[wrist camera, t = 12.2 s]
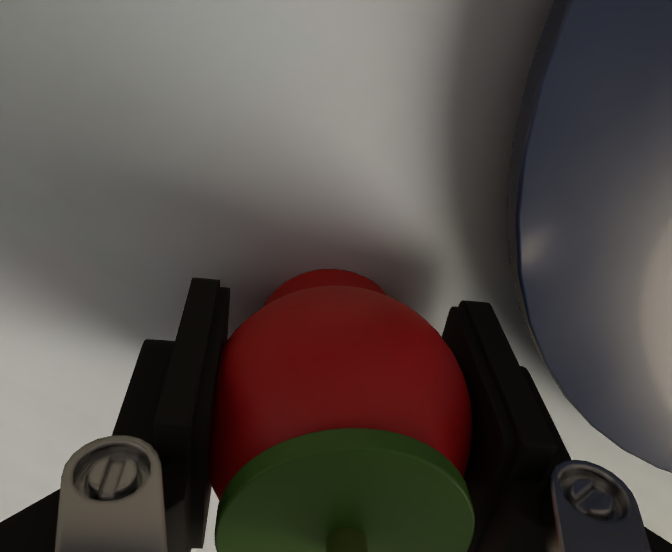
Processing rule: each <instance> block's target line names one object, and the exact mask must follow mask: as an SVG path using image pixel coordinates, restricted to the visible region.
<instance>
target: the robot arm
mask: <svg viewBox="0 0 672 552" xmlns="http://www.w3.org/2000/svg"><path fill="white" fill-rule="evenodd" d="M229 302H230V288H226V287H220V280H216V279H204V278H192V280H191V284H190V287H189V291H188V295H187V299H186V302H185V306H184V310H183V314H182V318H181V321H180V325H179V329H178V333H177V336H176V340H175V341H166V340H153V339H146V340H145V341H144V343H143V345H142V348H141V350H140V353H139V356H138V359H137V362H136V365H135V368H134V371H133V374H132V377H131V380H130V383H129V386H128V389H127V392H126V395H125V398H124V401H123V404H122V407H121V410H120V413H119V416H118V419H117V422H116V425H115V428H114V431H113V434H112V436H109V437H104V438H100V439H97V440H94V441H92V442H90V443H88V444H86V445H84V446H83V447H81V448H80V449H79V450H77V451H76V452H75V453H74V454H73V455H72V456H71V457H70V459H69V460H68V461H67V463H66V464H65V466H64V470H63V473H62V476H61V487H60V489H59V490H57V491H55V492H53V493H52V494H50V495H48V496H46V497H45V498H43V499H41V500H39V501H38V502H36V503H34V504H32V505H30V506H29V507H27V508H25V509H23V510H22V511H20V512H18V513H16V514H15V515H13V516H11V517H9V518H8V519H6V520H4V521H2V522H0V552H191V548H201V549H202V548H203V544H204V537H205V530H206V523H207V516H208V508H209V501H210V494H211V487H212V485H211V483H210V481H209V456H210V441H211V428H212V418H213V408H214V398H215V390H216V381H217V374H218V367H219V360H220V355H221V351H222V347H223V346H224V345H225V343H226V342H227V337H228V320H229ZM442 338H443V340H444V341H445V343H446V344H447V345H448V347H449V348H450V349H451V351H452V352H453V354H454V356H455V358H456V360H457V362H458V364H459V366H460V368H461V371H462V373H463V375H464V378H465V381H466V385H467V388H468V392H469V396H470V400H471V408H472V421H473V433H472V444H471V453H470V457H469V461H468V465H467V468H466V471H465V475H464V478H463V479H464V481H465V483H466V486H467V489H468V492H469V495H470V498H471V502H472V505H473V508H474V515H475V527H474V534H473V537H472V541H471V544H470V546H469V548H468V550H467V552H672V544H671V543H669V542H667V541H666V540H664V539H663V538H661V537H660V536H658V535H657V534H655V533H654V532H652V531H650V530H649V529H647V528H646V527H644V525H643V522H642V518H641V515H640V511H639V508H638V505H637V502H636V500H635V498H634V496H633V494H632V492H631V491H630V489H629V488H628V487H627V486H626V485H625V483H624V482H623V481H622V480H620V479H619V478H618V477H617V476H616V475H614V474H613V473H612V472H610V471H608V470H606V469H605V468H603V467H601V466H599V465H596V464H593V463H590V462H587V461H580V460H571V458H570V456H569V454H568V452H567V450H566V448H565V445H564V443H563V441H562V439H561V437H560V435H559V433H558V431H557V429H556V427H555V425H554V423H553V421H552V419H551V416H550V414H549V412H548V410H547V408H546V406H545V404H544V402H543V400H542V398H541V396H540V394H539V392H538V390H537V388H536V385H535V383H534V381H533V379H532V377H531V375H530V373H529V372H528V370H527V369H526V368H524V367H523V366H519V364H518V361H517V359H516V357H515V355H514V353H513V351H512V349H511V347H510V344H509V342H508V340H507V338H506V336H505V334H504V332H503V330H502V327H501V325H500V323H499V321H498V319H497V317H496V315H495V313H494V310H493V308H492V306H491V305H490V303H487V302H476V301H464V300H463V301H461V302H460V304H459V306H458V307H454V306H453V307H451V309H450V311H449V314H448V317H447V321H446V324H445V328H444V331H443V335H442Z"/></svg>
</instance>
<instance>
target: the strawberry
mask: <svg viewBox="0 0 672 552" xmlns="http://www.w3.org/2000/svg"><path fill="white" fill-rule="evenodd" d="M472 433H473V421H472V408H471V400H470V396H469V392H468V388H467V385H466V381H465V378H464V375H463V373H462V371H461V368H460V366H459V364H458V362H457V360H456V358H455V356H454V354H453V352H452V351H451V349H450V348H449V347H448V345H447V344H446V343H445V341H444V340H443V338H442V337H441V336H440V334H439V333H438V332H437V331H436V330H435V329H434V328H433V327H432V326H431V325H430V324H429V323H428V322H427V321H426V320H425V319H424V318H423V317H421V316H420V315H419V314H418V313H416V312H415V311H414V310H412V309H411V308H409V307H408V306H406V305H404V304H402V303H401V302H399V301H397V300H395V299H393V298H391V297H389V296H387V294H386V293H385V292H384V291H383V290H382V289H381V288H380V287H379V286H378V285H377V284H375V283H374V282H373V281H371V280H369V279H367V278H366V277H364V276H362V275H359V274H357V273H353V272H350V271H345V270H338V269H323V270H315V271H310V272H307V273H304V274H300V275H298V276H296V277H294V278H292V279H290V280H288V281H287V282H285V283H284V284H282V285H281V286H280V287H279V288H277V289H276V290H275V291H274V292H273V293H272V295H271V296H270V297H269V298H268V300H267V301H266V303H265V305H264V307H263V308H261V309H260V310H258V311H257V312H256V313H254V314H253V315H252V316H250V317H249V318H248V319H247V320H245V321H244V322H243V323H242V324H241V325H240V326H239V327H238V329H237V330H236V331H235V332H234V333H233V334H232V335H231V337H230V338H229V339H228V340H227V342H226V343H225V345H224V346H223V347H222V351H221V355H220V360H219V367H218V374H217V381H216V390H215V398H214V408H213V418H212V428H211V441H210V456H209V481H210V483H211V485H212V487H213V489H214V491H215V493H216V495H217V497H218V499H219V501H220V502H219V504H218V510H217V517H216V526H215V546H216V550H217V552H467V550H468V548H469V546H470V544H471V541H472V537H473V534H474V527H475V515H474V508H473V505H472V502H471V498H470V495H469V492H468V489H467V486H466V483H465V481H464V479H463V478H464V475H465V471H466V468H467V465H468V461H469V457H470V453H471V444H472Z"/></svg>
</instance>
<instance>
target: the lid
mask: <svg viewBox="0 0 672 552" xmlns="http://www.w3.org/2000/svg"><path fill="white" fill-rule="evenodd" d="M507 217H508V237H509V257H510V265H511V269H512V274H513V279H514V284H515V288H516V293H517V298H518V302H519V307H520V310H521V313H522V315H523V318H524V320H525V323H526V325H527V328H528V330H529V333H530V335H531V338H532V340H533V343H534V345H535V348H536V350H537V352H538V354H539V356H540V357H541V359H542V361H543V363H544V364H545V366H546V368H547V369H548V371H549V372H550V374H551V376H552V377H553V379H554V380H555V382H556V384H557V385H558V387H559V388H560V390H561V391H562V393H563V395H564V396H565V398H566V399H567V400H568V401H569V402H570V403H571V404H572V405H573V406H574V407H575V409H576V410H577V411H578V412H579V413H580V414H581V415H582V416H583V417H584V418H585V419H586V420H587V422H588V423H589V424H590V425H591V426H592V427H594V428H595V429H596V430H598V431H599V432H600V433H602V434H603V435H604V436H606V437H607V438H608V439H609V440H611V441H612V442H613V443H615V444H616V445H617V446H619V447H620V448H621V449H623V450H624V451H626V452H628V453H630V454H632V455H634V456H636V457H638V458H640V459H642V460H644V461H645V462H647V463H649V464H651V465H653V466H655V467H657V468H659V469H662V470H665V471H668V472H671V473H672V0H554V3H553V6H552V8H551V11H550V14H549V17H548V20H547V22H546V25H545V28H544V31H543V34H542V37H541V39H540V42H539V45H538V48H537V51H536V53H535V56H534V59H533V62H532V65H531V68H530V70H529V74H528V79H527V83H526V87H525V92H524V96H523V100H522V105H521V109H520V114H519V118H518V122H517V127H516V131H515V136H514V140H513V147H512V157H511V168H510V178H509V189H508V199H507Z"/></svg>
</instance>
